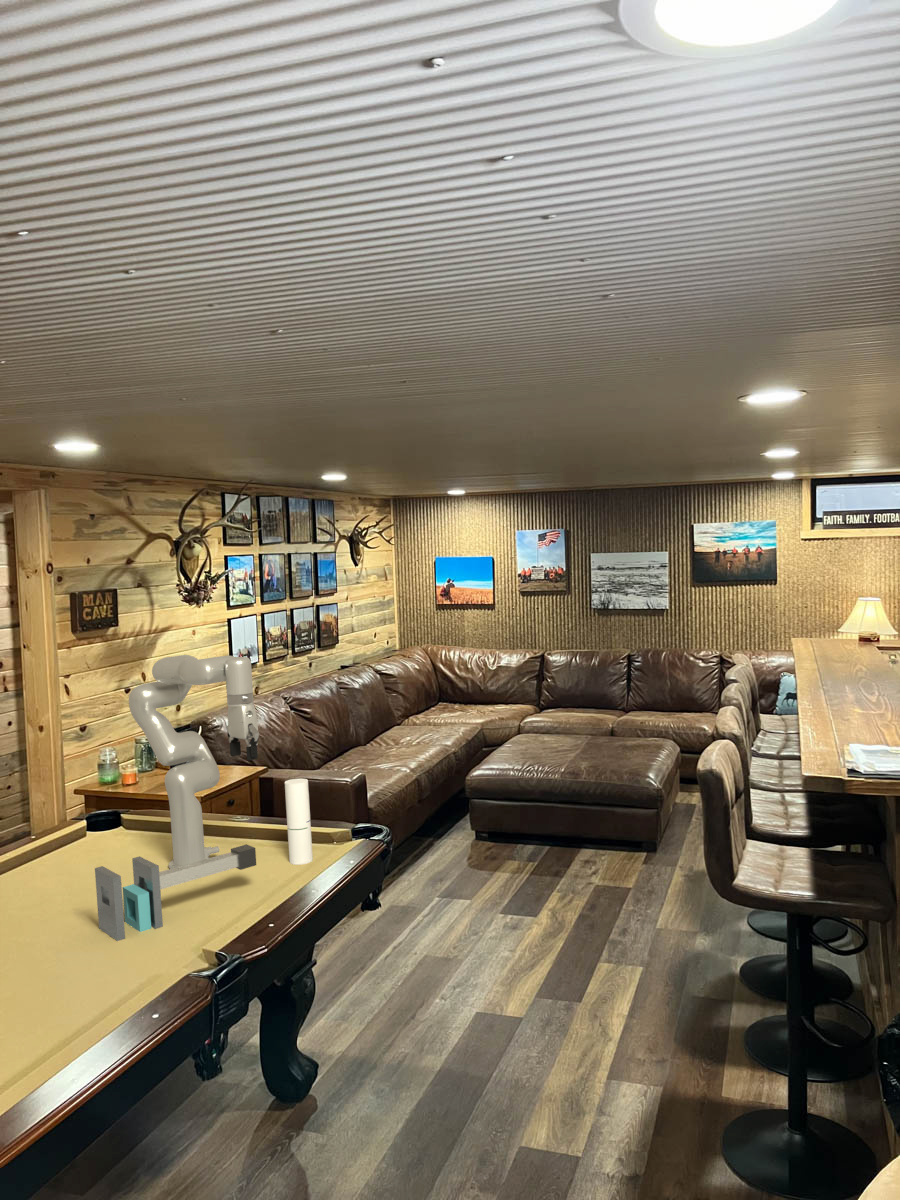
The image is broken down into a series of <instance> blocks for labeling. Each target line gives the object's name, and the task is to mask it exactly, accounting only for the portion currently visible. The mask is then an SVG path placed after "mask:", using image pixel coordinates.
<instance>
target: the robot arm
mask: <svg viewBox="0 0 900 1200" xmlns="http://www.w3.org/2000/svg"><path fill="white" fill-rule="evenodd" d="M151 675H152V677H153V678H154V680H155V681H152V682H146V683H142V684H140V685H139V684H138V685H137V686H136V687H134V688H133V689H132V690H131V691H130V693H129V696H128V708H129V711H130V713H131V716H132V718H133V720H134V721H135V722H136V724H137V725H138V727H139V728H141V730H142V731H143V733H144V735H145V737H146V739H147V741H148V743H149V746H150V748H151V750H152V751H153V754H154V755H155V757H156V759H157V761H158V762H159V763H160V765H162V766H165V767H169V766H170V767H171V766H174V767H172V768H170V769H169V770H168V771H167V772H166V774H165V776H164V786H165V787H164V788H165V791H166V794H167V797H168V798H167V799H168V803H169V804H168V805H169V812H170V813H169V814H170V828H171V845H172V855H173V856H172V857H173V859H172V860H171V861H169V862H168V868H169V869H172V868H176V867H179V866H183V865H187V864H190V863H194V862H197V861H201V860H205V859H208V858H211V857H210V856H211V855H213V854H218V853H219V852H220V847H219V846H218V845H217V846H214V847H212V846H207V847H206V846H205V835H204V822H203V821H204V820H203V809H202V805H201V802H200V801H199V800H198V798H197V797H196V796H195V794H197V793H199V792H202V791H206V790H209V789H212V788H214V787H216V786H217V785H218V783H219V782H220V779H221V774H220V772H221V771H220V769H219V766H218V764H217V762H216V760H215V758H214V756H213V754H212V752H211V750H210V749H209V747H208V744H207V743H206V741H205V739H204V738H203V737H202V735H200V733H198V732H196V731H193V730H189V731H187V730H185V731H183V732H182V731H181V732H177V731H176V730H175V729H174V727H173V725H172V722H171V721H170V720H169V718H168V717H166V716H165V715H164V714H162V713H161V712H160V711H158V710H157V709H162V708H166V707H171V706H176V705H179V704H180V703H182V702H183V701H184V700H185V698H186V697H187V696H188V693H189V692H190V690H191V688H192V687H193V686H202V685H203V686H204V685H210V684H215V683H222V682H225V687H226V702H227V703H226V704H227V706H228V707H227V725H226V726H225V730H226V731H227V737H228V742H229V754H230V757H236V756H237V757H238V756H240V755H241V754H242V752H241V751H242V747H241V741H240V740H244V741H245V744H246V747H245V748H246V760H247V761H252V760H257V759H258V758H259V756H258V745H259V743H258V742H259V740H260V739H259V736H260V732H259V726H258V719H257V711H256V707H255V705H254V688H253V687H254V686H253V671H252V661H251V659H250V658H249V657H246V656H234V655H223V656H221V655H220V656H215V657H208V658H200V659H198V658H197V657H195V656H192V655H189V654H182V655H174V656H167V657H163V658H160V659H158V660H157V661H155V663H154V664H153V666H152V669H151ZM175 765H176V766H175Z"/></svg>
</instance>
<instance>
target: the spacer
mask: <svg viewBox="0 0 900 1200" xmlns="http://www.w3.org/2000/svg"><path fill="white" fill-rule="evenodd" d="M122 900H123V914H124V923H125V922H126V923H127V925H128V924H129V925H128V926H130V927H131V926H132V928H133V929H134V930H136V931H137V932H139V933H141V932H145V931H148V930H152V926H151V917H150V902H149V892H147V891H145V890H144V889H142V888H140V887H138V886H136V885H134V883H132V884H129V885H126V886H122ZM126 923H125V924H126Z"/></svg>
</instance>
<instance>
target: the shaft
mask: <svg viewBox="0 0 900 1200" xmlns="http://www.w3.org/2000/svg"><path fill="white" fill-rule="evenodd" d="M256 853H257V852H256V847H254V846H252V845H249V844H247V843H246V844H244V845H243V844H242V845H239V846H236V847H233V848H230V852H228V853H223V854H219V855H216V856H213V857H210V858H208V859H205V860H201V861H197V862H194V863H190V864H187V865H183V866H179V867H176V868H172V869H170V868H169V869H165V870H161V871H159V876H160V891H161V890H164V889H167V888H171V887H173V886H177V885H181V884H183V883H184V884H185V883H187V882H190V881H195V880H197V879H201V878H205V877H208V876H211V875H216V874H219V873H222V872H225V871H229V870H232V869H238V870H240V871H242V870H245V869H249V868H251V867H255V866H257V854H256ZM144 890H146V891H147V880H146V879H144Z"/></svg>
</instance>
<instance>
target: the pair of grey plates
mask: <svg viewBox="0 0 900 1200" xmlns="http://www.w3.org/2000/svg"><path fill="white" fill-rule="evenodd" d="M131 862H132V874H133V884H134V885H136V886H138V887H140V888H142V889H144V879H146V880H147V892H149V902H150V917H151V928H153V929H155V930H157V929H160V928H163V927H164V921H163V920H164V919H163V907H162V895H161V894H162V893H161V890H160V876H159V872H160V866H159V865H158V864H156V863H154V862H153V861H150V860H148V859H146V858H144V857H141V856H136V857H132V861H131ZM94 874H95V877H94V878H95V889H96V890H95V891H96V892H95V893H96V903H97V904H96V905H97V915H98V916H97V917H98V918H97V921H98V929H99V930H100V929H101V930H100V931H102V932H103V933H104V934H106V935H108V937H110V938H112V939H114V940H115V941H117V942H119V941H122V940H125V939H126V931H125V930H126V929H125V914H124V900H123V885H122V876H121V875H120V874H118V873H116V872H115V871H113V870H110V869H109V868H107V867H105V866H102V865H101V866H96V867H94ZM145 891H146V890H145Z"/></svg>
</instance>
